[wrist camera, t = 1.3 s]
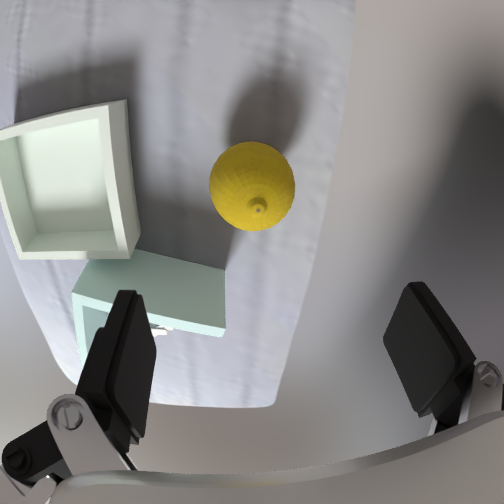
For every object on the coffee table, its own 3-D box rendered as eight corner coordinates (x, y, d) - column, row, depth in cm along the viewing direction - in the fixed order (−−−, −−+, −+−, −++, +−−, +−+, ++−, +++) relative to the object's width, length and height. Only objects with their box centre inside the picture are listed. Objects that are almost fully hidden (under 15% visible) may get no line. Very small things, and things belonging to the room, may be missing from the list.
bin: (13, 123, 18) (-14, 135, 14) (127, 99, 19) (108, 105, 15) (38, 236, 24) (19, 259, 21) (141, 232, 25) (129, 259, 22)
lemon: (229, 208, 25) (231, 266, 18) (200, 149, 22) (188, 186, 15) (292, 183, 24) (319, 232, 17) (268, 121, 21) (288, 144, 14)
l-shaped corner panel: (100, 324, 31) (83, 375, 25) (101, 239, 25) (71, 292, 19) (197, 347, 34) (195, 401, 28) (224, 269, 28) (225, 328, 22)
